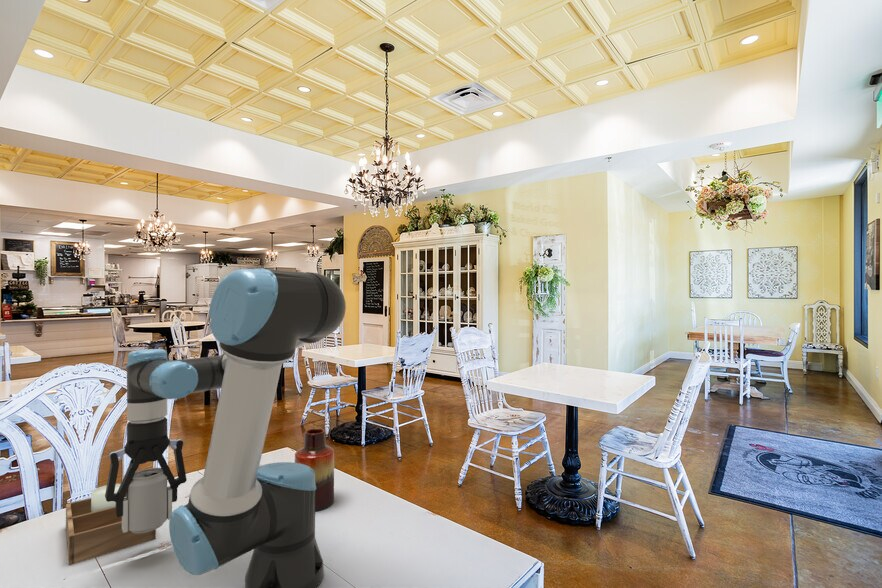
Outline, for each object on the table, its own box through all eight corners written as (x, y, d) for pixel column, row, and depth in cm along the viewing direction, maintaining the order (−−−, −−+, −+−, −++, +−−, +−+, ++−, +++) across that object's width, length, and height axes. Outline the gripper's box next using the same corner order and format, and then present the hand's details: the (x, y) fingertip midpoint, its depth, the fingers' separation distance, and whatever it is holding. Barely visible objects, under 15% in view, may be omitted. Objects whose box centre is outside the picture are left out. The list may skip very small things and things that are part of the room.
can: (147, 536, 92) (147, 479, 93) (117, 533, 94) (117, 477, 94) (175, 519, 100) (175, 466, 100) (147, 517, 101) (147, 464, 102)
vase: (324, 513, 118) (324, 437, 118) (286, 510, 120) (287, 435, 120) (339, 496, 128) (340, 426, 129) (305, 493, 130) (305, 424, 130)
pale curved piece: (125, 526, 109) (126, 489, 109) (91, 535, 105) (92, 497, 105) (122, 516, 114) (122, 481, 114) (89, 524, 110) (90, 488, 110)
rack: (155, 543, 103) (155, 513, 103) (68, 570, 93) (69, 536, 93) (141, 511, 118) (141, 485, 119) (65, 532, 108) (66, 503, 108)
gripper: (194, 408, 107) (194, 503, 107) (87, 425, 94) (87, 533, 93) (202, 413, 102) (202, 513, 101) (90, 431, 88) (89, 547, 87)
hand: (147, 523), depth 97 cm, fingers closed on can, 7 cm apart
